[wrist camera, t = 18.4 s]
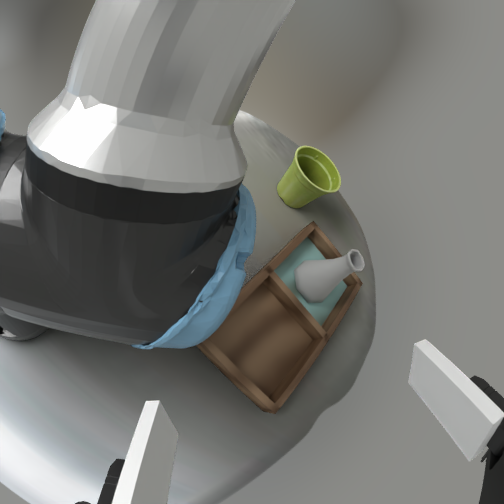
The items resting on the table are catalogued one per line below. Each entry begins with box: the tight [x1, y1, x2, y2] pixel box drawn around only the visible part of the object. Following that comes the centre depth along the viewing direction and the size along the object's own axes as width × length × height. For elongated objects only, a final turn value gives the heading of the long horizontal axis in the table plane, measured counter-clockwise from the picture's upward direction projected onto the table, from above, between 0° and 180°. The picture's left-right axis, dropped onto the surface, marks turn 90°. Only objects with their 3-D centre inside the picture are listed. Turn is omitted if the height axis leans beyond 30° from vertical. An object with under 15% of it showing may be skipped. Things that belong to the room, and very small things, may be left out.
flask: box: [294, 249, 365, 303], centre depth 39 cm, size 7×7×10 cm
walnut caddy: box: [196, 221, 363, 414], centre depth 38 cm, size 14×27×3 cm, turn 137°
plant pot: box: [277, 146, 341, 208], centre depth 46 cm, size 9×9×9 cm
